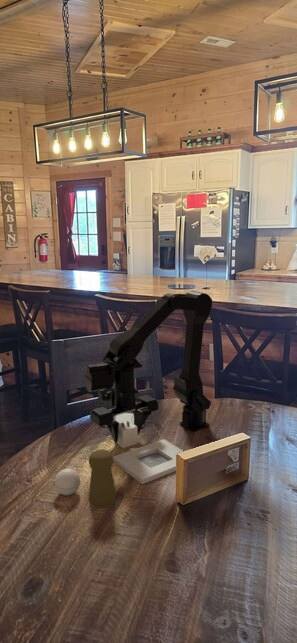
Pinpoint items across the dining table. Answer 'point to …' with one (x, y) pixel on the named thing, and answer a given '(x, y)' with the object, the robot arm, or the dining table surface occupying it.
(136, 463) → the outlet plate
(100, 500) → the olive pawn
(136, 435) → the charger brick
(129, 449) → the grey bar
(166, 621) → the dining table surface
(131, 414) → the external hard drive
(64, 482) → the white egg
